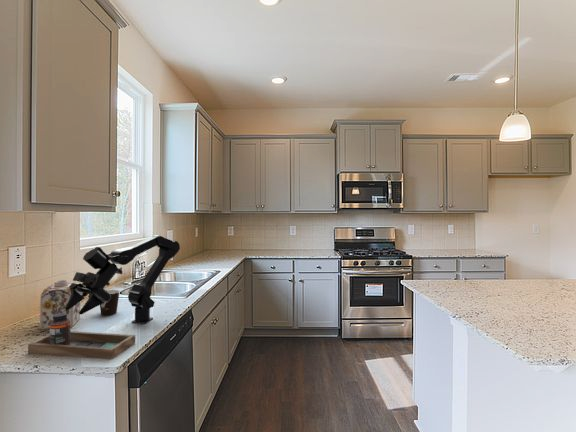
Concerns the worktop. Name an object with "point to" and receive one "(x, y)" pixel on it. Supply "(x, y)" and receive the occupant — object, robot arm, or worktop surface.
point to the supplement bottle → (60, 329)
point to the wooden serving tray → (85, 345)
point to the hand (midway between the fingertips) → (72, 311)
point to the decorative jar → (57, 304)
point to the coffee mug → (110, 304)
